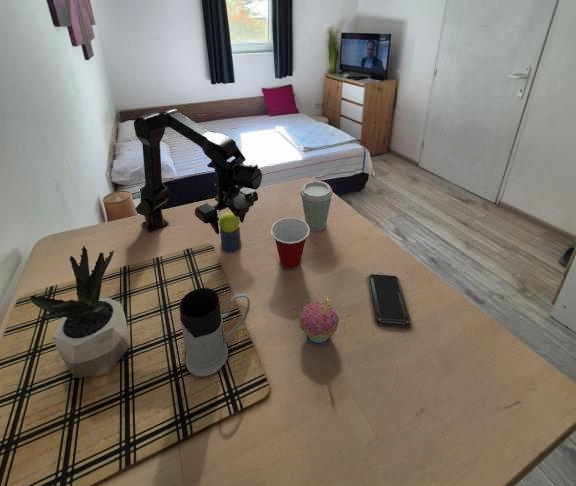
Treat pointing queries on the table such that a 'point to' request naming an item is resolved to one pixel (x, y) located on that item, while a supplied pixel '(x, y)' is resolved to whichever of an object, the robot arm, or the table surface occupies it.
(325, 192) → the disposable coffee cup
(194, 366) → the grey mug
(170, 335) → the table surface
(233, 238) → the tumbler
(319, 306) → the cupcake
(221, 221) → the ball
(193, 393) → the table surface
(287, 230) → the plastic cup
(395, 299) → the phone
